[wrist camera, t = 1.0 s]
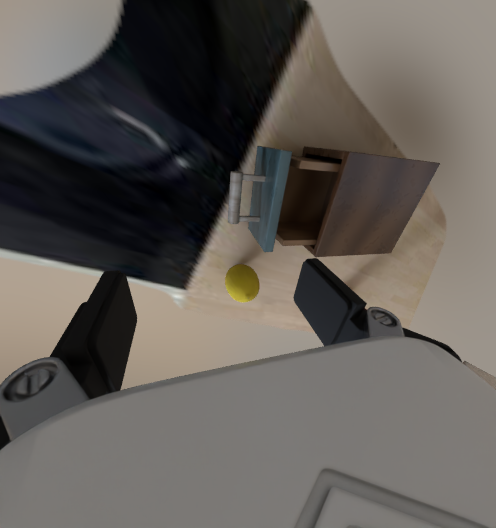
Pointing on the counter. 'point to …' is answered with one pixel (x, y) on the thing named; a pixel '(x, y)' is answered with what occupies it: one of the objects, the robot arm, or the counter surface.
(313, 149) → the cabinet
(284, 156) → the drawer
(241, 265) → the lemon
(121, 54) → the counter surface
